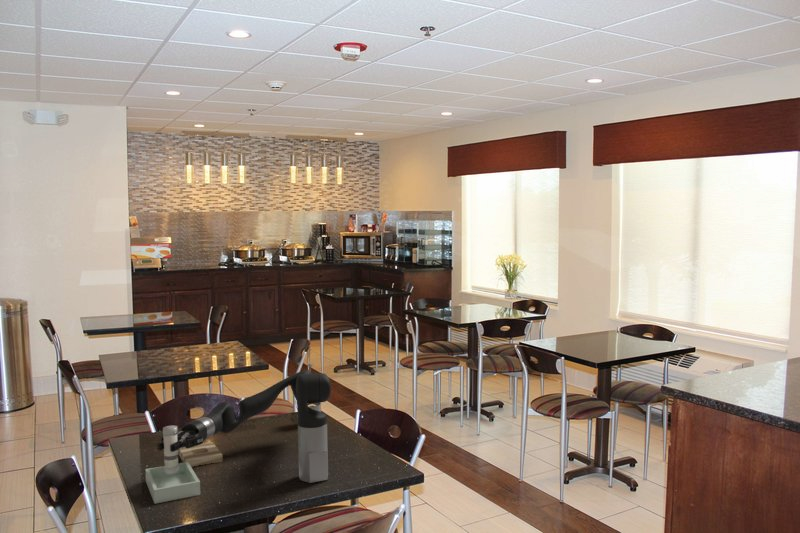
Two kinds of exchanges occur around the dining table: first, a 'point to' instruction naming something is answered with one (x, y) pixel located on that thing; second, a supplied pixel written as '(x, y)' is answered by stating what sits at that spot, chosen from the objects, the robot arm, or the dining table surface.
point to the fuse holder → (201, 454)
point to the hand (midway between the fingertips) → (165, 447)
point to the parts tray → (172, 483)
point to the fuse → (169, 456)
